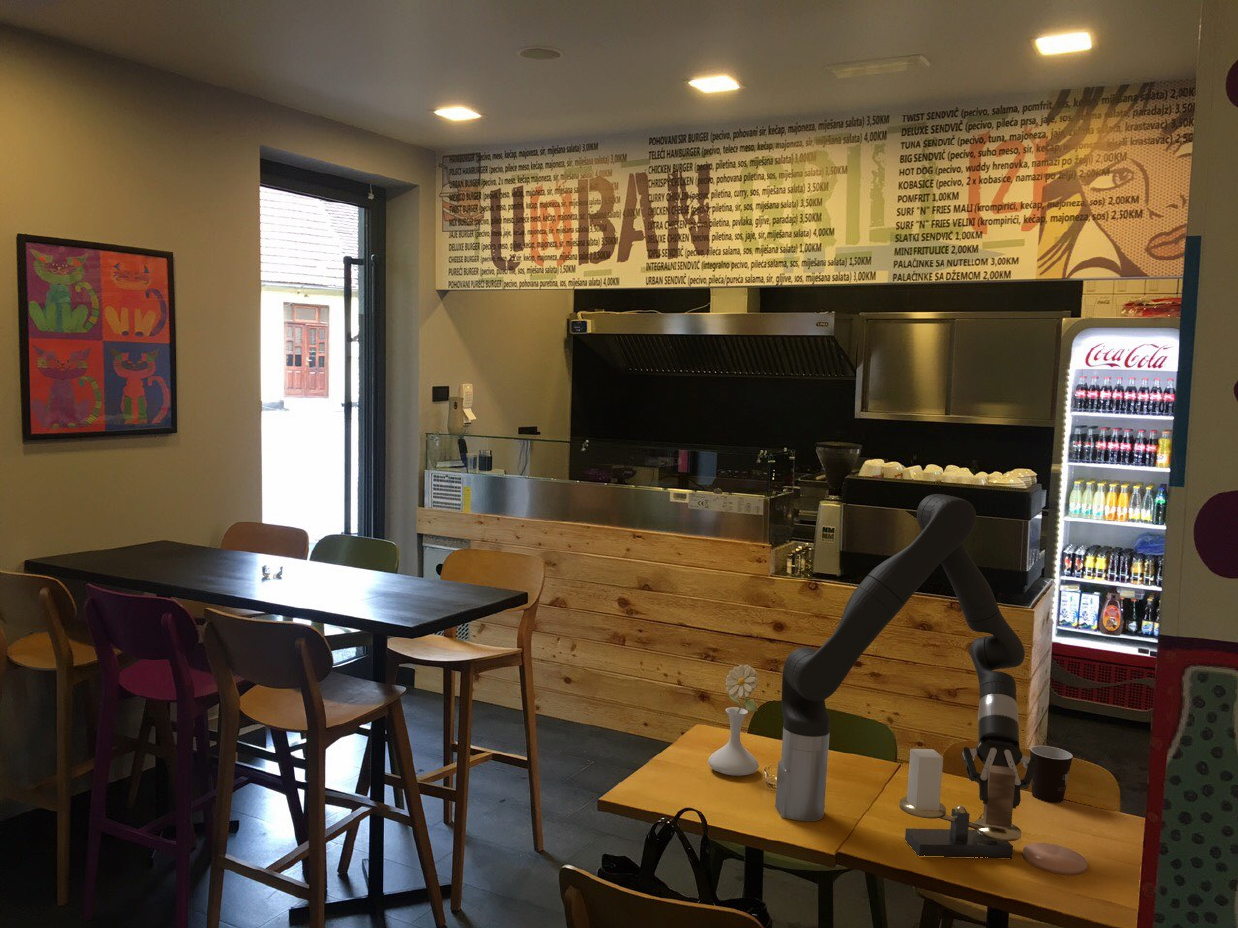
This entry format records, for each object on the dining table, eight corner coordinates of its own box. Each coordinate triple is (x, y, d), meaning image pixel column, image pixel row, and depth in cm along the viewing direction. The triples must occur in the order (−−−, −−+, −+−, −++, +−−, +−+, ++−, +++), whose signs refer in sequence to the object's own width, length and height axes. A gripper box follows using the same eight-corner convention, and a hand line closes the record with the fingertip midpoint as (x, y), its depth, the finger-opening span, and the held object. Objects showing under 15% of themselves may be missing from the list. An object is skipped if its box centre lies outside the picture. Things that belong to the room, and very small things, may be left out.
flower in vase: (698, 764, 228) (705, 656, 226) (741, 759, 232) (747, 653, 231) (728, 785, 216) (735, 671, 214) (772, 780, 221) (779, 668, 219)
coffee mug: (1050, 806, 214) (1054, 761, 213) (1017, 792, 222) (1021, 747, 221) (1086, 799, 219) (1090, 755, 219) (1053, 785, 227) (1057, 742, 226)
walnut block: (985, 823, 188) (990, 771, 188) (983, 814, 193) (987, 764, 192) (1010, 827, 187) (1015, 775, 187) (1008, 818, 192) (1012, 767, 191)
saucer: (1041, 874, 181) (1041, 868, 181) (1012, 847, 192) (1012, 842, 192) (1099, 874, 182) (1099, 869, 182) (1066, 848, 193) (1067, 843, 193)
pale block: (915, 809, 186) (919, 756, 185) (906, 800, 190) (910, 748, 190) (939, 810, 186) (943, 757, 186) (929, 800, 191) (933, 749, 190)
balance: (906, 858, 184) (909, 813, 184) (889, 839, 193) (893, 795, 192) (1027, 860, 186) (1031, 816, 186) (1006, 841, 195) (1009, 798, 194)
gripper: (962, 708, 198) (962, 789, 187) (1040, 718, 194) (1044, 802, 183) (958, 726, 203) (957, 806, 192) (1033, 736, 200) (1037, 819, 189)
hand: (1000, 803), depth 188 cm, fingers closed on walnut block, 4 cm apart
